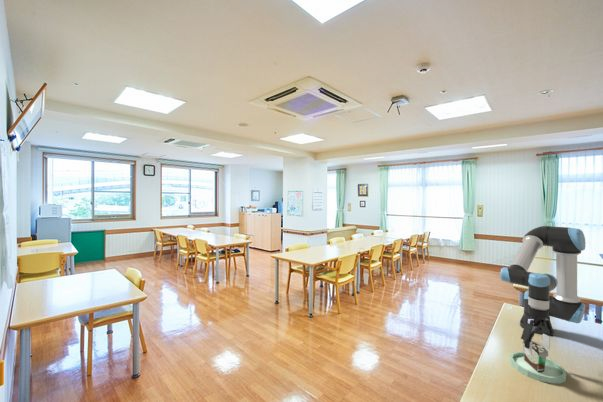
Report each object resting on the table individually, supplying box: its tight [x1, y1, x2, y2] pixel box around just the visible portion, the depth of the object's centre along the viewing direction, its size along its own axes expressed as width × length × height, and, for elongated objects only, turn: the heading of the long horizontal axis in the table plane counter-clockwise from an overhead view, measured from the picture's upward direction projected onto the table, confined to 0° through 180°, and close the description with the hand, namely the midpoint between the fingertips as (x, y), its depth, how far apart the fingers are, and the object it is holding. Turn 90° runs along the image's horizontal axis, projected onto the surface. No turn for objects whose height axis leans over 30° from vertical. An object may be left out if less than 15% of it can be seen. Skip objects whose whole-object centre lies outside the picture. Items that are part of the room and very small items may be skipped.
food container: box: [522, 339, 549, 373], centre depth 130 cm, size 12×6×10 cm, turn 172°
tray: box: [509, 351, 567, 385], centre depth 130 cm, size 20×20×2 cm
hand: (537, 351), depth 130 cm, fingers open, 13 cm apart
